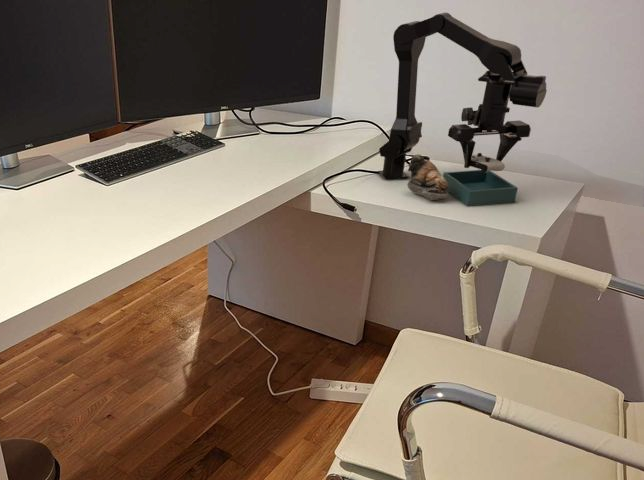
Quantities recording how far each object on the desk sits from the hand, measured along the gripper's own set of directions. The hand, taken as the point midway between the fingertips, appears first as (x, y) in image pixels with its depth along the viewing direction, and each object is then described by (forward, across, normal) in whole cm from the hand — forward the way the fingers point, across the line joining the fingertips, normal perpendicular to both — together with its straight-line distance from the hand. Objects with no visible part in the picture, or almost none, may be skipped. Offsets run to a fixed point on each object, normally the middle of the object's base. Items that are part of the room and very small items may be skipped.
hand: (482, 164), depth 171 cm
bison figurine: (+8, +14, -1) cm, 16 cm away
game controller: (+1, 0, 0) cm, 1 cm away
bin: (+8, 0, 0) cm, 8 cm away
